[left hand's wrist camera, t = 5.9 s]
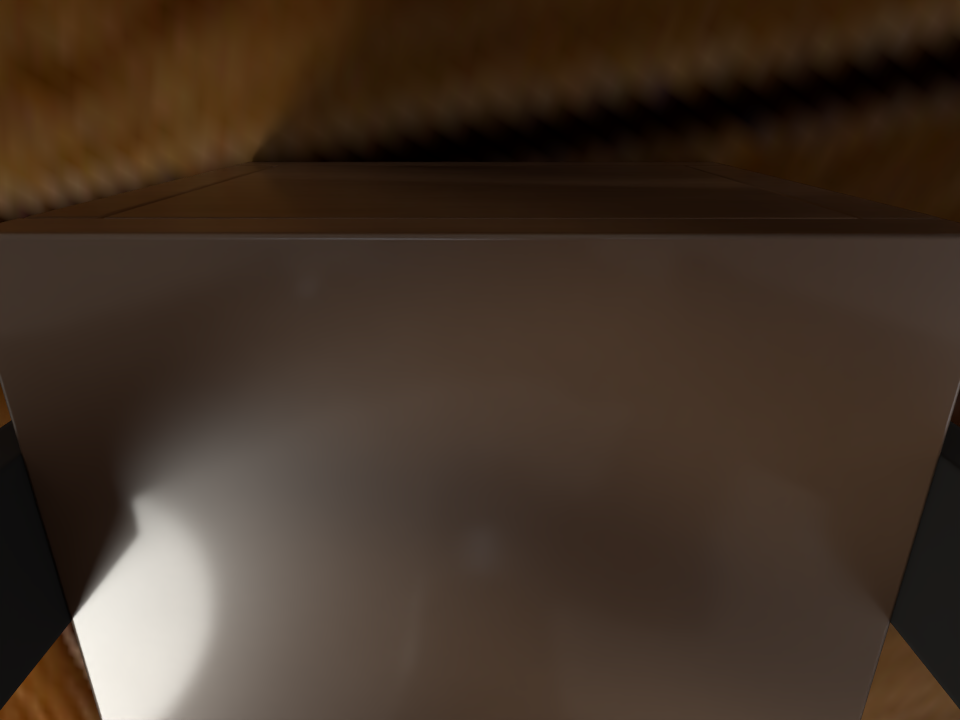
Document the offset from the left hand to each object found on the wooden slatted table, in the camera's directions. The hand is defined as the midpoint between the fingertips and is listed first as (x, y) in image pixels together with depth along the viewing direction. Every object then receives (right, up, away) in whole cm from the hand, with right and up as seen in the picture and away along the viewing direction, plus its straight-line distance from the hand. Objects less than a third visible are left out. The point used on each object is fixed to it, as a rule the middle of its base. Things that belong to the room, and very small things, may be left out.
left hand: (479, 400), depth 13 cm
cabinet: (0, -4, +7) cm, 8 cm away
